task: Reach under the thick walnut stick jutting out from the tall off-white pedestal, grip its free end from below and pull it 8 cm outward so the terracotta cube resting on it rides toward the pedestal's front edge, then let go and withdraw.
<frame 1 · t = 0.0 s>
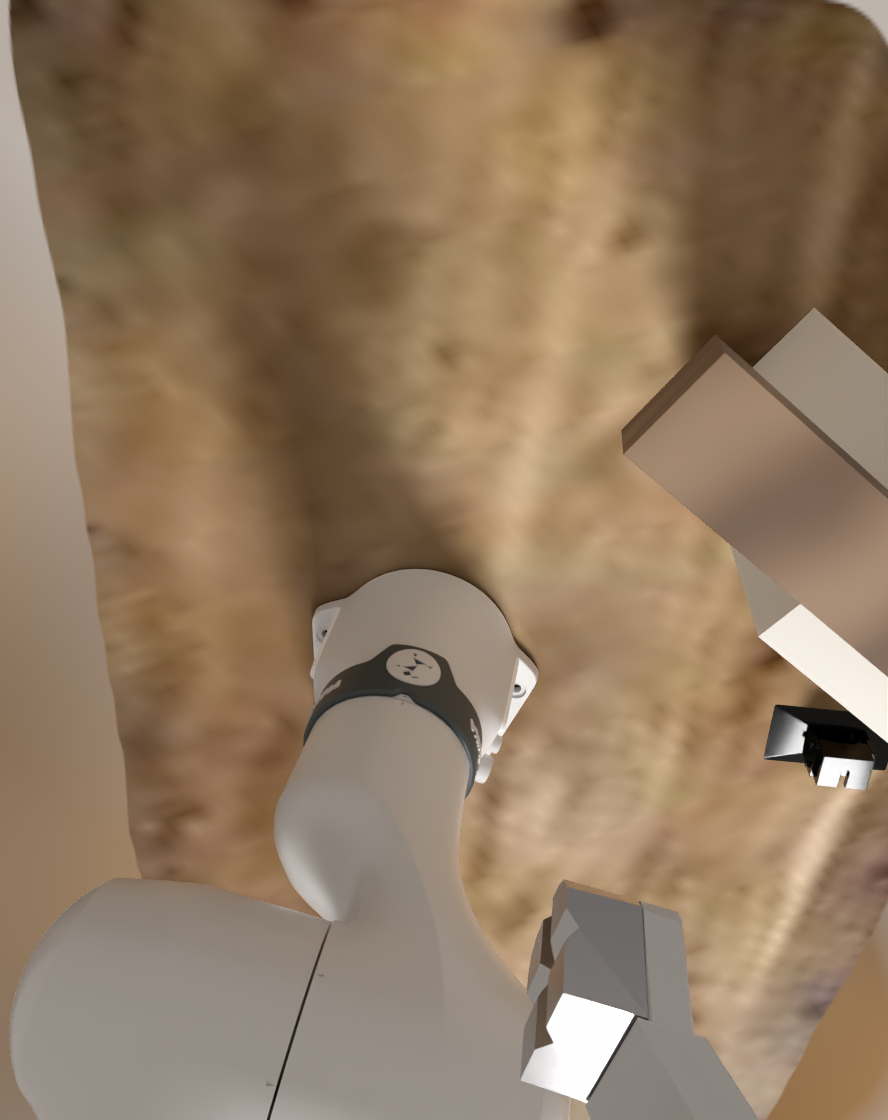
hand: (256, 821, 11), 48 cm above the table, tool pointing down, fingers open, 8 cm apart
pedestal: (837, 446, 55), on the table
black angular part: (829, 732, 66), on the table
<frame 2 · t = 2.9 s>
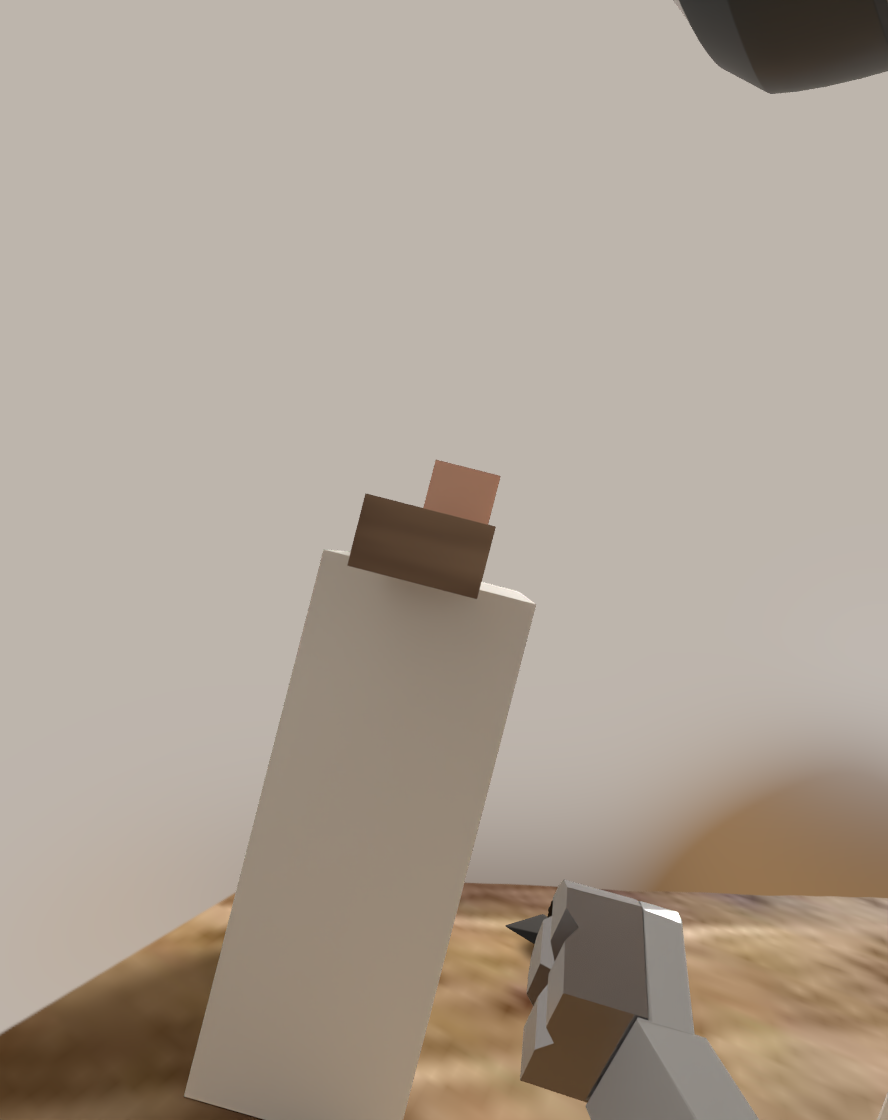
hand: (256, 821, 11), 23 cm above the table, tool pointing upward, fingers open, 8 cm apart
pedestal: (321, 1028, 46), on the table
walnut strip: (432, 575, 41), point 26 cm above the table, touching pedestal, terracotta cube
terracotta cube: (452, 533, 52), point 28 cm above the table, touching walnut strip
black angular part: (570, 957, 64), on the table
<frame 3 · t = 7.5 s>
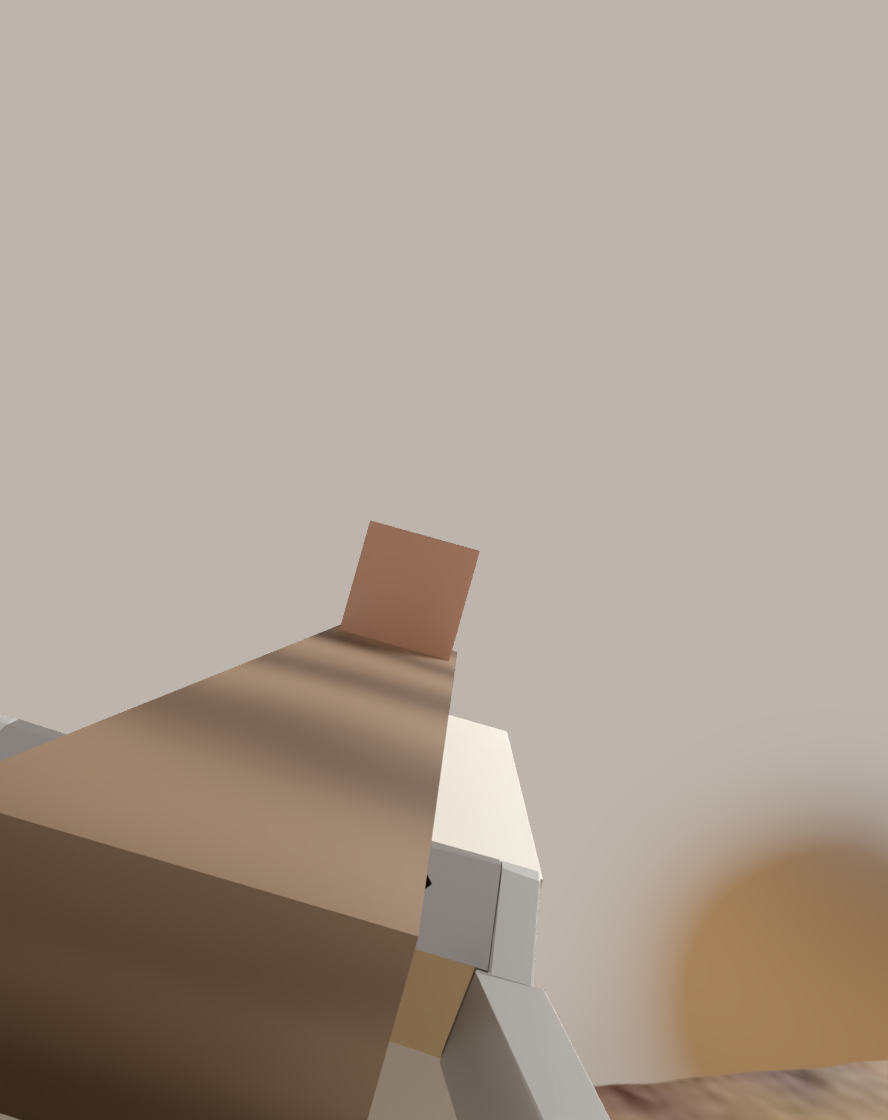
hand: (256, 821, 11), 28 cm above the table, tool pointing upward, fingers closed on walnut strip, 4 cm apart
walnut strip: (333, 776, 20), point 26 cm above the table, touching gripper, pedestal, terracotta cube
terracotta cube: (398, 640, 31), point 28 cm above the table, touching walnut strip
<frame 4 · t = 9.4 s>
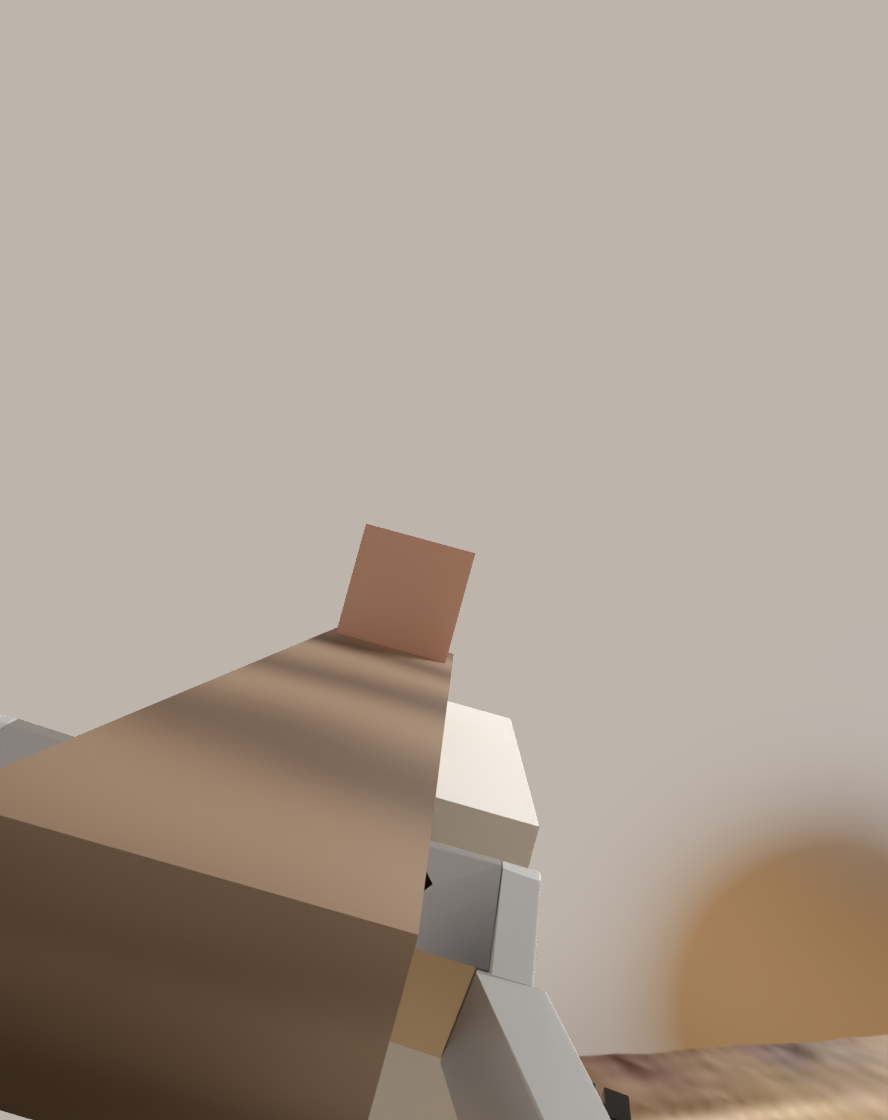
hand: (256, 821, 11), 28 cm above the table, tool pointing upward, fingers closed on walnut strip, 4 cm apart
walnut strip: (331, 778, 20), point 26 cm above the table, touching gripper, terracotta cube
terracotta cube: (395, 643, 31), point 29 cm above the table, touching walnut strip
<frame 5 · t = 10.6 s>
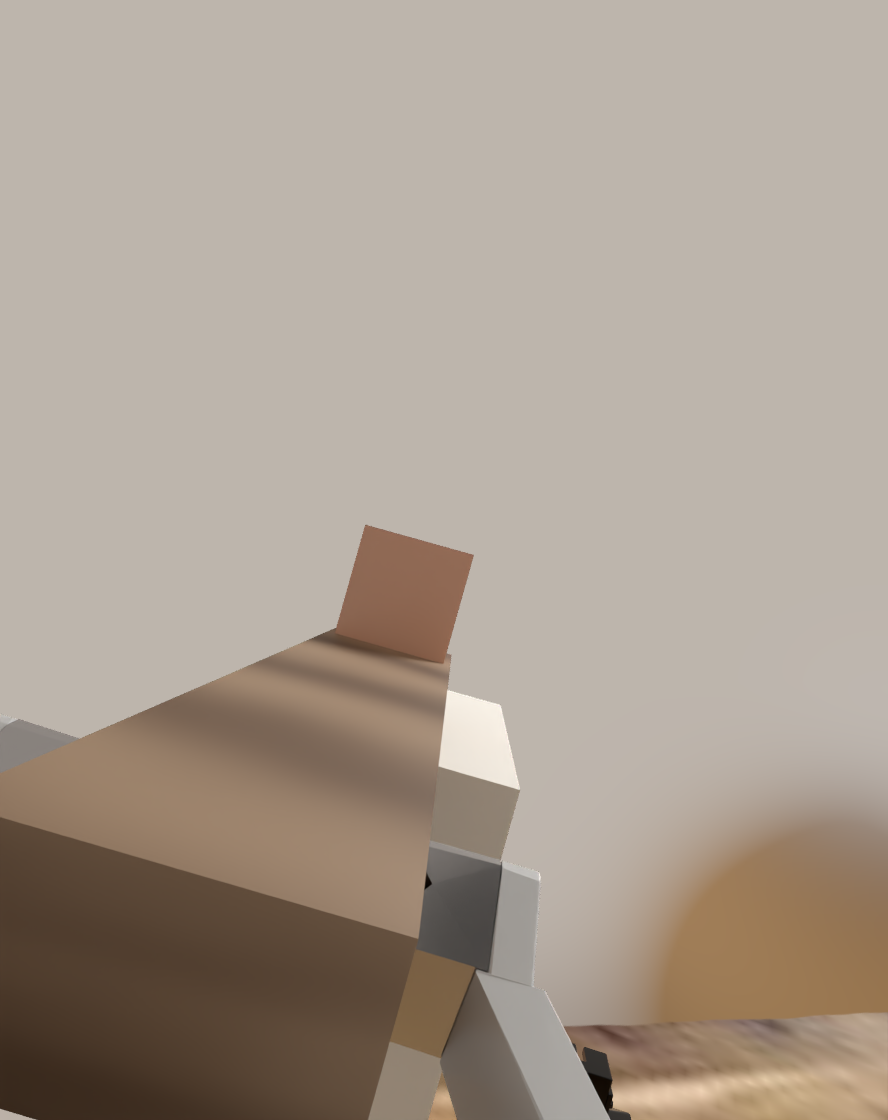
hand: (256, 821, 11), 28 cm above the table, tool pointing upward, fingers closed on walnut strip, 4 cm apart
walnut strip: (329, 779, 20), point 26 cm above the table, touching gripper, pedestal, terracotta cube
terracotta cube: (393, 643, 31), point 29 cm above the table, touching walnut strip
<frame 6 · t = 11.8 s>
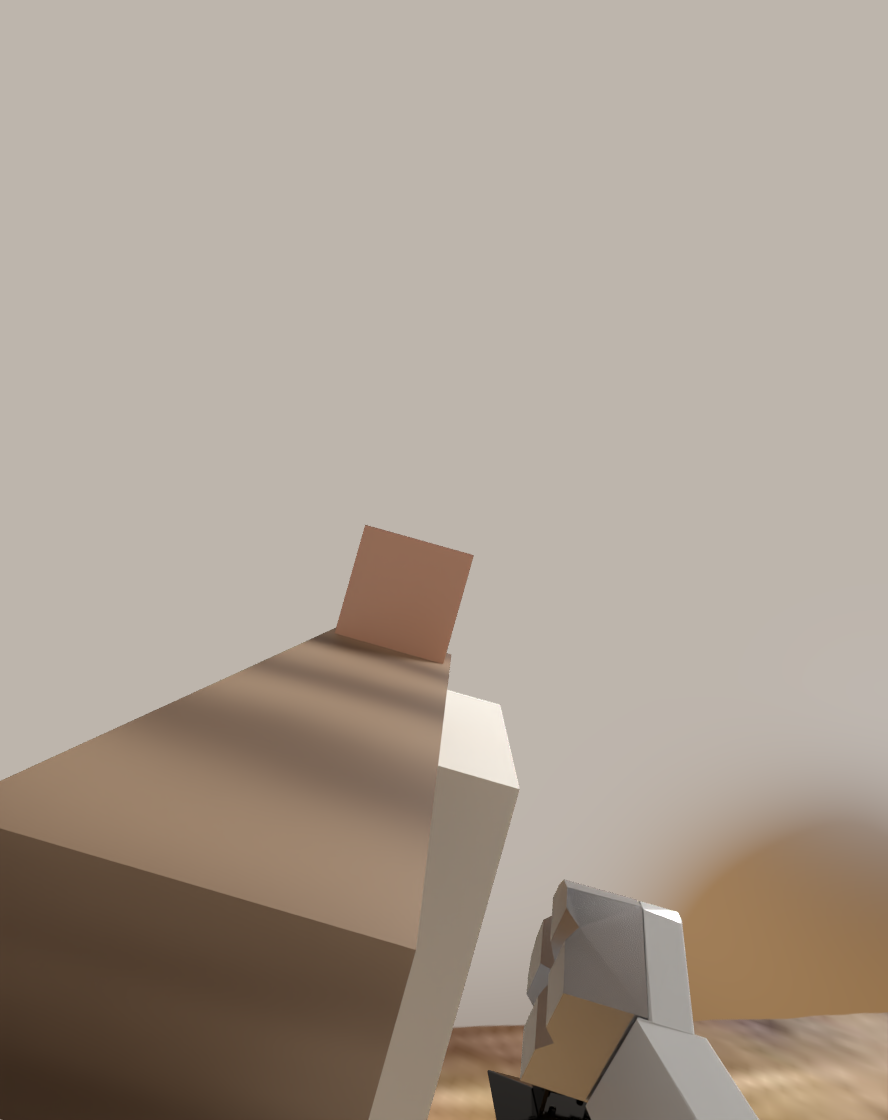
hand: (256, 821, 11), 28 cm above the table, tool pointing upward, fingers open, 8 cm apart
walnut strip: (329, 781, 20), point 26 cm above the table, touching pedestal, terracotta cube
terracotta cube: (393, 643, 31), point 28 cm above the table, touching walnut strip
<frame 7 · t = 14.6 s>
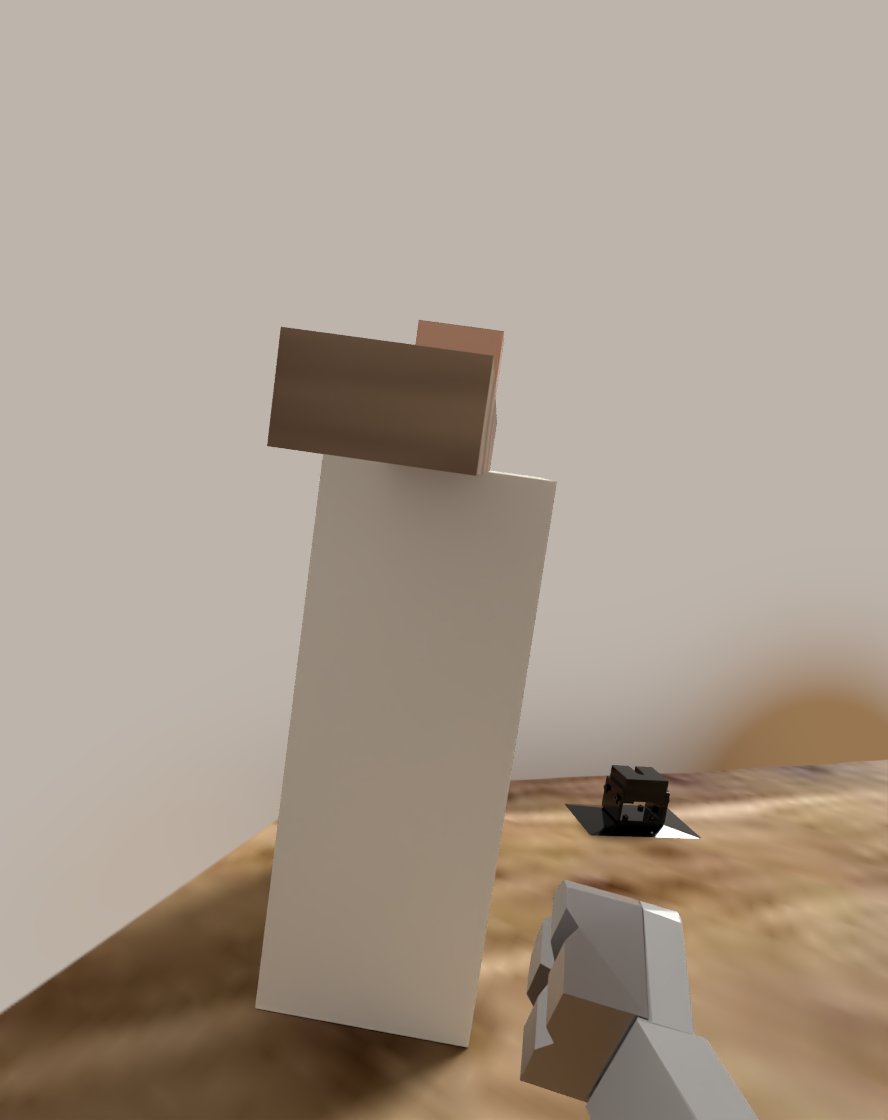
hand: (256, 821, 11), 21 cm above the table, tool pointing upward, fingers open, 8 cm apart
pedestal: (385, 931, 46), on the table
walnut strip: (425, 463, 31), point 26 cm above the table, touching pedestal, terracotta cube
terracotta cube: (451, 414, 41), point 28 cm above the table, touching walnut strip
black angular part: (630, 829, 67), on the table
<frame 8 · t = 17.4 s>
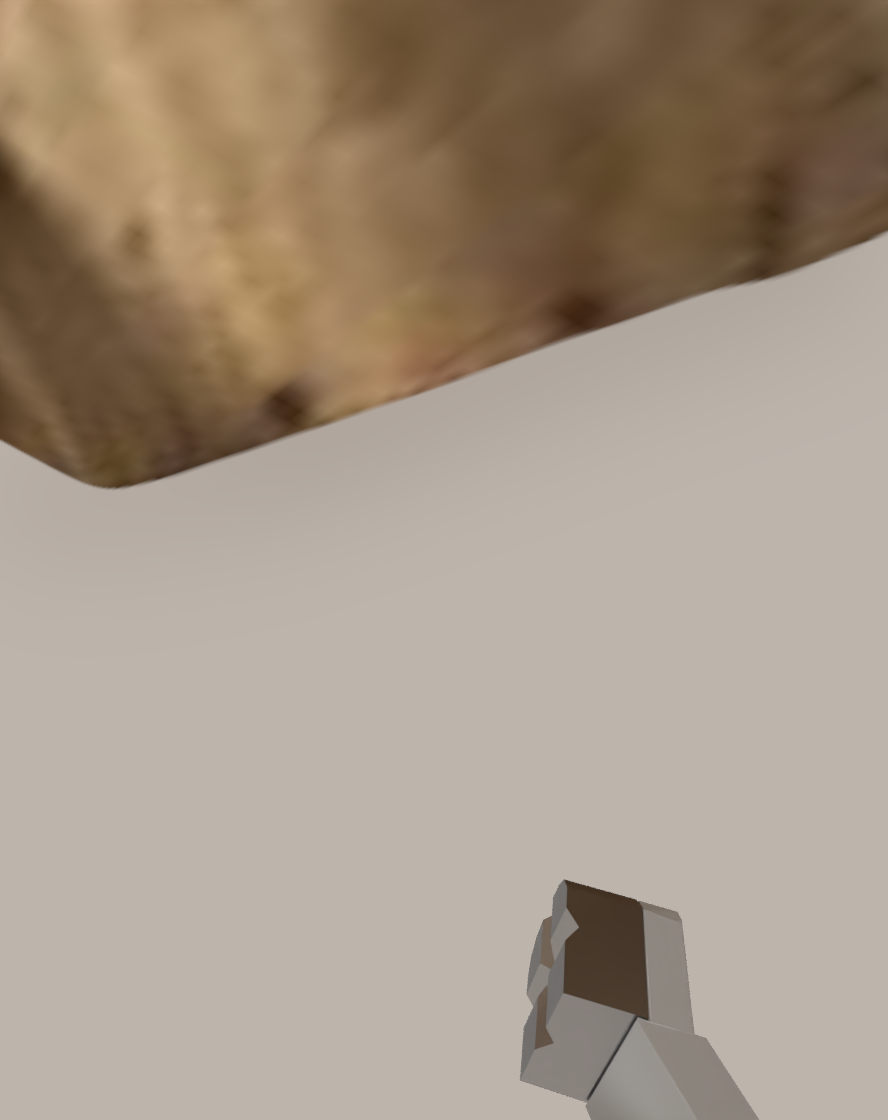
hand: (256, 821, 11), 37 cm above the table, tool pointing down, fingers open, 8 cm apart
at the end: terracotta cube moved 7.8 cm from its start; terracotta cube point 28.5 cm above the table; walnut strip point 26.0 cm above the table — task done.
